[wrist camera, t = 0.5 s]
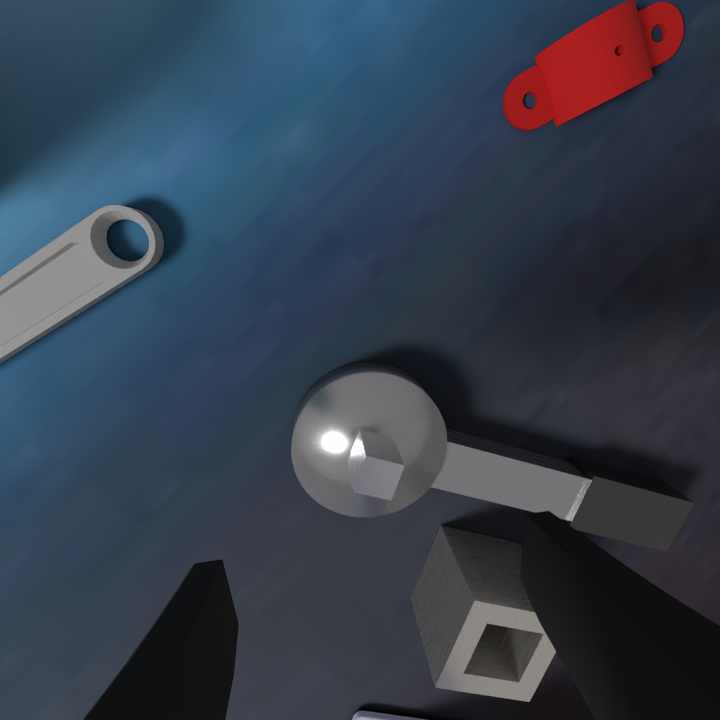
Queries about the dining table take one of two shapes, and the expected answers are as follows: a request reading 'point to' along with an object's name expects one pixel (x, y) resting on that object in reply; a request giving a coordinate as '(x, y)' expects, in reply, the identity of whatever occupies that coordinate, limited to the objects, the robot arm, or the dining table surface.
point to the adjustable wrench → (69, 277)
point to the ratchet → (456, 462)
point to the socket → (479, 617)
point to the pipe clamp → (594, 64)
